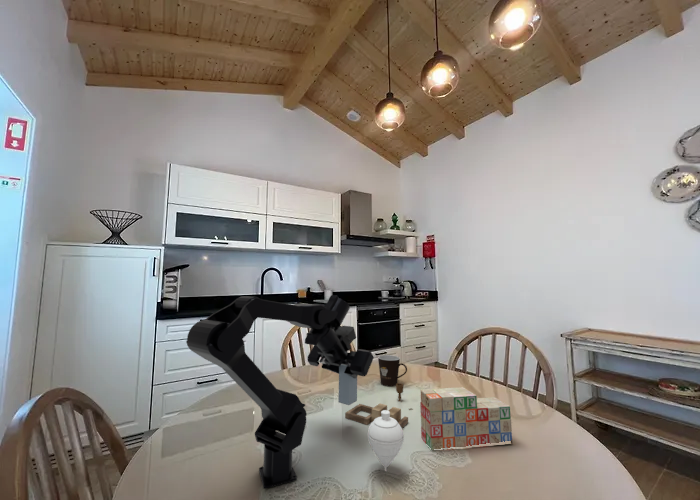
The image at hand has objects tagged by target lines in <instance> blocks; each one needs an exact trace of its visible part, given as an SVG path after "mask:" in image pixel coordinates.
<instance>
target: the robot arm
mask: <svg viewBox="0 0 700 500" xmlns="http://www.w3.org/2000/svg"><path fill="white" fill-rule="evenodd" d="M350 308H351V307H350V304H349V303H348V302H346V300H344V299H342V298H339V296H338V295H335V294H331V295H330V296H329V298H328V300H327V302H326V304H325V305H323V304H313V303H294V304H290V303H284V302H280V301H274V300H269V299H262V298H259V297H258V296H247V295H246V296H244V295H243V296H242V295H241V296H240V297H237V298H236V299H234V300H233V301H232V302H231V303H229V304H228V305H226V306H224V307H222V308H221V309H219V310H217V311H215V312H213V313H211V314H210V315H209V316H208V317H206V318H205V319H202V320H199V321H197V322H196V323H195V324H193V325H192V326H191V328H190V329H189V331H188V333H187V337H186V338H187V339H186V344H187V345H186V346H187V347H188V348H189V350H190V351H191V352H193V353H194V354H196V355H198V356H199V357H200V358H202V359H204V360H205V361H208V362H210V363H212V364H214V365H216V366H218V367H220V368H221V369H222V370H223V371H224V372H225V373H226V374H227V375H228V376H229V377H230V378H231V379H232V380H233V381H234V382H235V383H236V384H237V386H238V387H240V389H242V391H243V392H245V394H247V396H248V397H249V398H251V400H252V401H253V402H254V403H255V404H256V405H257V406H258V407H259V408H260V409H261V418H262V420H261V422H260V423H259V425H258V426H257V429H256V430H255V432H254V437H255V441H256V442H257V443H261V444H263V446H264V447H263V466H261V467H259V468H258V472H259V476H260V479H261V483H262V487H263V489H269V488H273V487H276V486H281V485H283V484H287V483H290V482H294V481H296V480H298V475H297V474H296V473H297V472H296V471H295V469H294V467H293V450H296V449H297V448H298V447H299V446H301V445H302V443H303V438H304V433H305V428H306V425H307V411H306V409H305V407H306V404H305V403H303V402H302V401H301V400H300V398H299V396H298V395H297V394H296V393H292V392H289V391H286V390H282V389H278V388H276V387H275V385H274V384H273V383H272V381H270V379H269V378H268V377H267V376H266V375H265V374H264V373H263V372H262V370H261V369H260V368H259V366H257V364H256V363H255V362H254V361H253V360H252V359H251V358H250V357H249V356H248V354H247V353H246V349H245V341H244V338H245V337H246V336H247V335H248V334H249V332H250V331H251V329H252V326H253V324H254V322H255V321H256V320H257V319H258V318H259V319H268V320H277V321H284V322H288V323H290V324H291V325H293V326H296V327H299V328H305V329H309V332H306V336H305V338H304V344H306V345H311V346H313V347H312V348H311V350H310V351H309V353H308V355H307V362H308V363H309V365H310V366H314V367H319V365H320V364H321V369H323V370H327V371H330V372H333V373H335V374H337V375H339V366H340V365H346V366H347V367H346V369H345V371H344V373H345V374H347V375H349V376H351V377H353V378H357V379H358V376H360V377H366V376H367V375H368V373H369V370H370V368H371V365H372V363H373V361H374V358H375V356H374V354H373V353H372V350H366V349H362V348H361V349H359V348H358V349H356V351H353V350H352V351H350V350H351V348H352V346H351V343H353V341H354V340H356V338H357V335H356V331H355V327H354V326H350V325H342V323H343V322H344V320H345V319H346V316H347V314H348V313H349V311H350ZM348 351H349V352H348Z"/></svg>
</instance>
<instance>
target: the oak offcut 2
mask: <svg viewBox="0 0 700 500" xmlns="http://www.w3.org/2000/svg"><path fill="white" fill-rule="evenodd" d="M388 411H389V412H390V417H391V418H394V419H395V420H396V421H397V422H399V421H400V420H401V419H402V409H401V408H399V407H395V406H392V407H391V408H389V410H388Z"/></svg>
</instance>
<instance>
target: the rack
mask: <svg viewBox="0 0 700 500" xmlns="http://www.w3.org/2000/svg"><path fill="white" fill-rule="evenodd" d="M372 408H374V407H373V406H370V405H365V404H362V403H359V404H357V405H355V406H353V407H352V408H351V409H349V410H348V411H346V412H345V413H344V414H345V416H344V417H345V419H347V420H351V421H352V422H353V421H354V422H358V423H360V424H362V425H365V426H368V425H370V424H371V420H372ZM359 412H365V413H367V414H369V415H367V416H363V415H360V414H358V413H359ZM398 423H399V425H400V426H401V428H402V429H403V428H404V427H406V425H407V424H409V417H408V416H406V415H404V416H403V417H401V420H400V421H399V422H398Z"/></svg>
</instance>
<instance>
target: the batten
mask: <svg viewBox="0 0 700 500" xmlns="http://www.w3.org/2000/svg"><path fill="white" fill-rule="evenodd" d="M346 367H347V366H346V365H340V366H339V374H338V404H339V403H340V404H343V405H347V406H351V405H352V404H354V403H355V402H357V400H358V377H357V378H353V377H351V376H349V375H347V374H345V373H344V371H345V369H346Z"/></svg>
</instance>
